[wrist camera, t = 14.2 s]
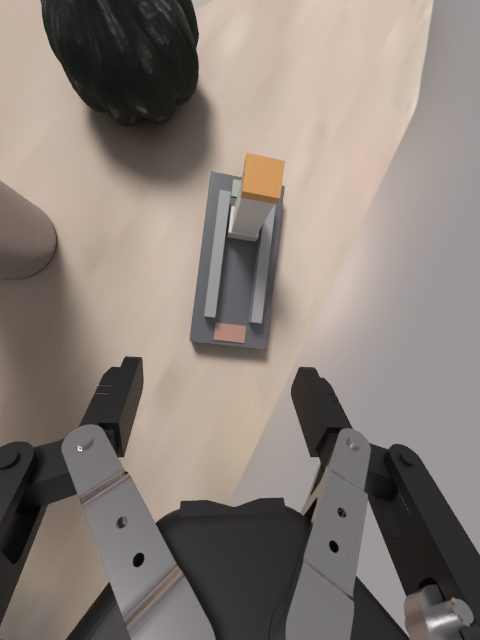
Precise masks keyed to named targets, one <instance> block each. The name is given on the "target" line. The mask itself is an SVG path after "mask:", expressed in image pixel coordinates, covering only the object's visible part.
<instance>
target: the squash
mask: <svg viewBox="0 0 480 640" xmlns="http://www.w3.org/2000/svg"><path fill="white" fill-rule="evenodd" d="M41 4H42V18H43V23H44V28H45V31H46V34H47V37H48V40H49V43H50V46H51V49H52V50H53V52H54V54H55V56H56V57H57V59H58V60H59V62H60V63H61V64H62V66H63V69H64V71H65V73H66V75H67V77H68V79H69V81H70V83H71V85H72V86H73V88H74V90H75V91H76V92H77V94H78V95H79V96H80V98H81V99H82V100H83V101H84V102H85V103H86V104H87V105H88V106H89V107H90V108H91V109H93V110H95V111H98V112H107V113H108V114H109V115H110V116H111V117H112V118H113V119H114V120H115V121H116V122H118V123H119V124H121V125H123V126H132V125H135V124H137V123H138V122H140V121H141V120H142V119H143V117H144V118H146V119H148V120H150V121H152V122H154V123H158V124H161V123H166V122H168V121H169V120H170V118H171V117H172V115H173V112H174V107H175V105H180V104H183V103H185V102H187V101H188V100H189V99H190V98H191V97H192V95H193V94H194V92H195V89H196V86H197V82H198V71H199V62H198V55H197V51H196V47H197V43H198V38H199V33H198V26H197V20H196V16H195V12H194V8H193V4H192V1H191V0H41Z"/></svg>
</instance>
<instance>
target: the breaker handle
mask: <svg viewBox="0 0 480 640" xmlns="http://www.w3.org/2000/svg"><path fill="white" fill-rule="evenodd" d="M284 162H285V161H282V160H277V159H273V158H268V157H263V156H259V155H254V154H250V153H247V155H246V159H245V164H244V172H243V176H242V180H241V183H240V187H239V191H238V195H237V199H236V202H235V206H232V207H231V211H230V218H229V226H228V234H227V237H229V238H235V239H241V240H247V241H253V242H256V241H257V239H258V237H259V230H260V228H261V227H262V225H263V223H264V222H265V220H266V218H267V217H268V215H269V213H270V212H271V210H272V208H273V206H274V205H275V204H277V203H278V201H279V200H280V196H281V187H282V179H283V170H284Z"/></svg>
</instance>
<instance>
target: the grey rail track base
mask: <svg viewBox="0 0 480 640" xmlns="http://www.w3.org/2000/svg"><path fill="white" fill-rule="evenodd" d="M241 180H242V177H237V176H232V175H227V174H222V173H217V172H212V171H211V175H210V183H209V191H208V199H207V207H206V215H205V222H204V230H203V238H202V246H201V254H200V262H199V270H198V278H197V286H196V294H195V302H194V310H193V317H192V325H191V333H190V341H192V342H201V343H210V344H220V345H229V346H238V347H247V348H256V349H265V350H266V343H267V334H268V326H269V317H270V308H271V300H272V291H273V282H274V274H275V265H276V257H277V248H278V239H279V231H280V222H281V213H282V205H283V196H284V188H285V186H282V187H281V196H280V200H279V201H278V203H277V204H275V205H274V206H273V208H272V210H271V212H270V213H269V215H268V217H267V218H266V220H265V222H264V223H263V225H262V227H261V228H260V230H259V237H258V239H257V241H256V242H253V241H247V240H241V239H235V238H229V237H227V234H228V226H229V218H230V211H231V207H232V206H235V202H236V199H237V195H238V191H239V187H240V183H241Z"/></svg>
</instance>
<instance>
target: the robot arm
mask: <svg viewBox="0 0 480 640" xmlns="http://www.w3.org/2000/svg"><path fill="white" fill-rule="evenodd" d="M55 247H56V234H55V229H54V227H53V224H52V222H51V221H50V219H49V218H48V216H47V215H46V214H45V213H44V212H43V211H42V210H41V209H40V208H38V207H37V206H35V205H34V204H33V203H31V202H30V201H28V200H27V199H26V198H24V197H23V196H21V195H20V194H19V193H17V192H16V191H15V190H13V189H12V188H10V187H9V186H8V185H6V184H5V183H3V182H2V181H1V180H0V278H5V279H20V278H25V277H28V276H31V275H33V274H36V273H37V272H38V271H40V270H41V269H43V268H44V267H45V266H46V265H47V264H48V263H49V261H50V259H51V258H52V256H53V254H54V251H55ZM143 381H144V379H143V361H142V357H127V356H126V357H125V358H124V360H123V362H122V365H121V367H111V368H110V369H109V370H108V371H107V372H106V373H105V374H104V375H103V377H102V379H101V381H100V383H99V386H98V387H97V389H96V392H95V394H94V396H93V398H92V400H91V402H90V404H89V407H88V409H87V411H86V413H85V415H84V417H83V419H82V422H81V423H80V425H79V427H78V428H76V429H74V430H73V431H72V432H70V433H69V434H68V435H67V436H66V438H64V439H62V440H59V441H57V442H53V443H49V444H46V445H42V446H38V447H34V448H33V447H32V446H31V445H30V444H29V443H27V442H13V443H9V444H6V445H4V446H2V447H0V625H1V623H2V620H3V618H4V615H5V612H6V610H7V607H8V605H9V602H10V600H11V597H12V595H13V592H14V590H15V587H16V585H17V582H18V580H19V577H20V574H21V572H22V569H23V567H24V564H25V562H26V559H27V557H28V554H29V552H30V549H31V547H32V544H33V542H34V539H35V536H36V534H37V531H38V529H39V526H40V524H41V521H42V519H43V516H44V514H45V511H46V509H47V506H48V504H50V503H52V502H55V501H58V500H61V499H64V498H67V497H70V496H72V495H75V494H78V497H79V499H80V502H81V505H82V508H83V511H84V513H85V516H86V519H87V521H88V524H89V527H90V530H91V532H92V535H93V538H94V540H95V543H96V546H97V549H98V551H99V554H100V557H101V559H102V562H103V565H104V568H105V570H106V573H107V576H108V578H109V581H110V582H109V583H108V584H107V586H106V587H105V588H104V590H103V591H102V592H101V594H100V595H99V596H98V598H97V599H96V600H95V602H94V603H93V604H92V606H91V607H90V608H89V610H88V611H87V612H86V614H85V615H84V616H83V617H82V619H81V620H80V621H79V623H78V624H77V625H76V627H75V628H74V629H73V631H72V632H71V633H70V635H69V636H68V637H67V639H66V640H480V555H479V554H478V552H477V550H476V548H475V547H474V545H473V544H472V542H471V540H470V539H469V537H468V535H467V534H466V532H465V530H464V529H463V527H462V526H461V524H460V523H459V521H458V519H457V517H456V516H455V515H454V513H453V511H452V509H451V508H450V506H449V504H448V503H447V501H446V500H445V498H444V496H443V495H442V493H441V491H440V490H439V488H438V487H437V485H436V483H435V482H434V480H433V479H432V477H431V475H430V474H429V472H428V470H427V469H426V467H425V465H424V464H423V462H422V461H421V459H420V458H419V456H418V455H417V454H416V453H415V452H414V451H412V450H411V449H409V448H408V447H406V446H404V445H401V444H394V445H392V446H391V447H390V448H389V449H385V448H382V447H379V446H376V445H373V444H370V443H369V442H368V441H367V439H366V438H365V437H364V436H363V435H362V434H361V433H359V432H358V431H356V430H354V429H353V428H352V426H351V424H350V422H349V420H348V418H347V416H346V414H345V412H344V410H343V408H342V406H341V404H340V403H339V400H338V398H337V396H335V392H334V390H333V388H332V386H331V385H330V384H329V383H328V382H327V381H326V380H325V379H324V378H320V377H319V375H318V372H317V370H316V369H315V368H312V367H300V368H299V369H298V372H297V374H296V377H295V379H294V382H293V384H292V388H291V397H292V400H293V403H294V407H295V410H296V413H297V416H298V419H299V422H300V425H301V428H302V432H303V435H304V438H305V441H306V444H307V447H308V450H309V453H310V457H319V458H320V461H321V463H320V465H319V467H318V470H317V473H316V475H315V478H314V481H313V484H312V487H311V489H310V492H309V495H308V498H307V500H306V503H305V505H304V507H303V509H302V511H301V513H299V512H297V511H296V510H294V509H292V508H289V507H287V506H285V503H284V499H283V498H262V499H261V498H260V499H257V500H254V501H251V502H248V503H245V504H243V505H240V506H237V507H230V506H227V505H223V504H220V503H216V502H212V501H208V500H198V501H181V505H180V509H178V510H175V511H173V512H171V513H169V514H167V515H166V516H164V517H163V518H161V519H160V520H159V521H157V522H156V523H155V522H154V520H153V518H152V516H151V514H150V512H149V510H148V508H147V507H146V505H145V503H144V501H143V499H142V497H141V495H140V493H139V491H138V489H137V487H136V485H135V484H134V482H133V480H132V478H131V476H130V475H129V473H128V472H125V470H124V469H123V467H122V465H121V463H120V461H119V459H118V457H124V455H125V451H126V448H127V444H128V441H129V437H130V433H131V430H132V426H133V423H134V419H135V415H136V412H137V408H138V405H139V401H140V398H141V394H142V390H143ZM401 496H402V497H401ZM402 498H403V499H402ZM368 500H369V503H370V505H371V508H372V510H373V513H374V516H375V518H376V520H377V523H378V526H379V528H380V531H381V533H382V536H383V538H384V541H385V543H386V546H387V548H388V551H389V554H390V556H391V559H392V561H393V563H394V566H395V569H396V571H397V574H398V576H399V579H400V581H401V584H402V587H403V589H404V592H405V594H406V599H405V602H404V613H405V627H406V630H407V632H408V633H409V637H408V636H407V635H406V634H405V632H404V631H403V630H402V629H401V628H400V626H399V625H398V624H397V623H396V622H395V620H394V619H393V618H392V617H391V616H390V615H389V613H388V612H387V611H386V610H385V609H384V608H383V607H382V605H381V604H380V603H379V602H378V601H377V599H376V598H375V597H374V596H373V595H372V594H371V592H370V591H369V590H368V589H367V588H366V587H365V585H364V584H363V583H362V582H361V581H360V580H359V579H358V577H357V576H356V571H357V565H358V557H359V552H360V546H361V540H362V533H363V527H364V521H365V514H366V508H367V502H368ZM403 500H404V501H403ZM404 502H405V503H404ZM405 504H406V505H405ZM406 506H407V507H406ZM407 508H408V509H407ZM408 510H409V511H408ZM0 640H3V639H1V638H0Z"/></svg>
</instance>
